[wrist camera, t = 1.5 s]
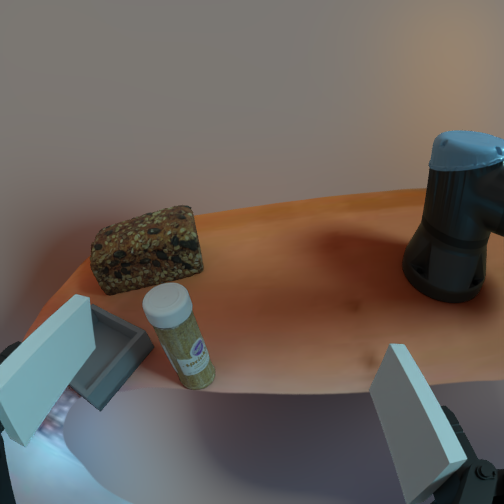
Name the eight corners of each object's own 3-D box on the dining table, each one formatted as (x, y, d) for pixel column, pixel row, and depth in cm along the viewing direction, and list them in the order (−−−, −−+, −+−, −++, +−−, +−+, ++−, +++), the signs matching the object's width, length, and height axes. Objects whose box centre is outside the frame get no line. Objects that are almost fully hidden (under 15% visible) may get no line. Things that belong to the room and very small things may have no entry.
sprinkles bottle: (210, 393, 33) (177, 317, 25) (175, 387, 34) (132, 311, 26) (220, 362, 37) (194, 281, 29) (186, 357, 38) (153, 278, 30)
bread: (200, 242, 59) (190, 196, 54) (207, 276, 51) (194, 224, 45) (110, 264, 57) (93, 220, 51) (103, 300, 48) (80, 252, 43)
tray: (101, 319, 44) (92, 303, 42) (154, 347, 39) (145, 330, 37) (52, 370, 36) (40, 356, 34) (100, 411, 31) (86, 398, 29)
